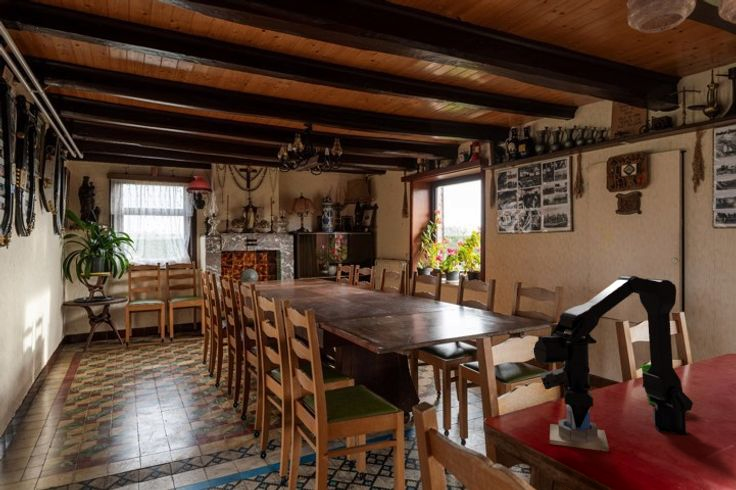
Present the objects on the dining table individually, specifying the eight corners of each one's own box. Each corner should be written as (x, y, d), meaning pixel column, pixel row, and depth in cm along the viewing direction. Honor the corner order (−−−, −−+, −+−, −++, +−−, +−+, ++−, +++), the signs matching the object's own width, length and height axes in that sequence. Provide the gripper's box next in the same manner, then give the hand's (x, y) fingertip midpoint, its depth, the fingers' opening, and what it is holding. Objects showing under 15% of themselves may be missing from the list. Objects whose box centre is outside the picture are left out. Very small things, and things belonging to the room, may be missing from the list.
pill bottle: (594, 434, 118) (593, 396, 118) (585, 441, 114) (584, 401, 114) (572, 428, 122) (571, 391, 122) (563, 434, 118) (562, 396, 118)
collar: (604, 434, 121) (604, 420, 121) (608, 451, 111) (608, 436, 111) (550, 427, 126) (550, 414, 126) (549, 443, 115) (549, 429, 115)
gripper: (543, 351, 130) (544, 407, 130) (541, 367, 113) (542, 432, 112) (587, 354, 126) (588, 412, 126) (592, 371, 108) (593, 438, 108)
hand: (577, 422), depth 118 cm, fingers closed on pill bottle, 5 cm apart
